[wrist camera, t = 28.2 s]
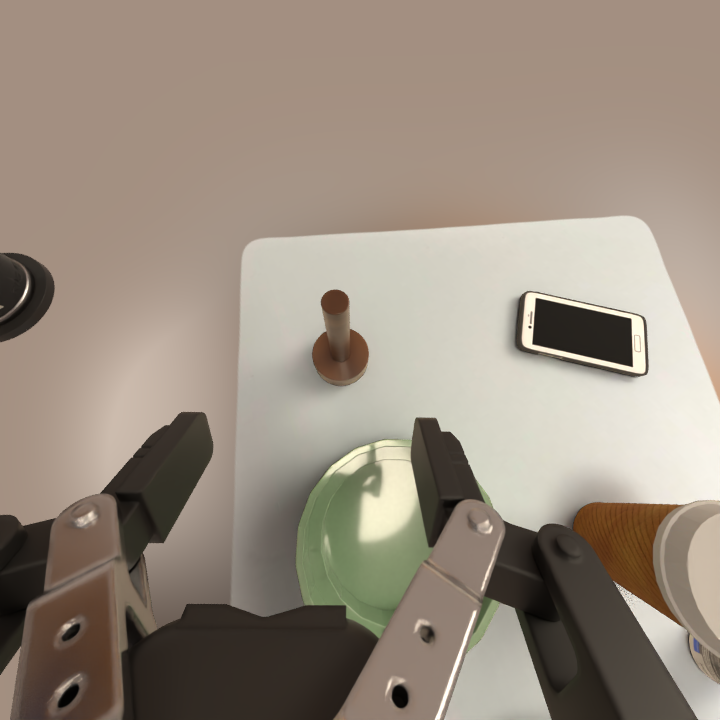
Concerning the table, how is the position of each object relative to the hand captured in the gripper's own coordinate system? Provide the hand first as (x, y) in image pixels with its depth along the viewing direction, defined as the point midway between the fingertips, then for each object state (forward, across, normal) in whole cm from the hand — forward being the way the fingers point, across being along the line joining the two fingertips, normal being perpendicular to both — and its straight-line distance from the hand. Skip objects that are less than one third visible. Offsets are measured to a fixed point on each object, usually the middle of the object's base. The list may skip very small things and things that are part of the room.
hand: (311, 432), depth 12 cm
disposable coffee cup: (+9, -27, +21) cm, 35 cm away
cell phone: (+24, -28, +6) cm, 38 cm away
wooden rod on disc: (+22, 0, +8) cm, 23 cm away
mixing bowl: (+10, -6, +20) cm, 23 cm away
